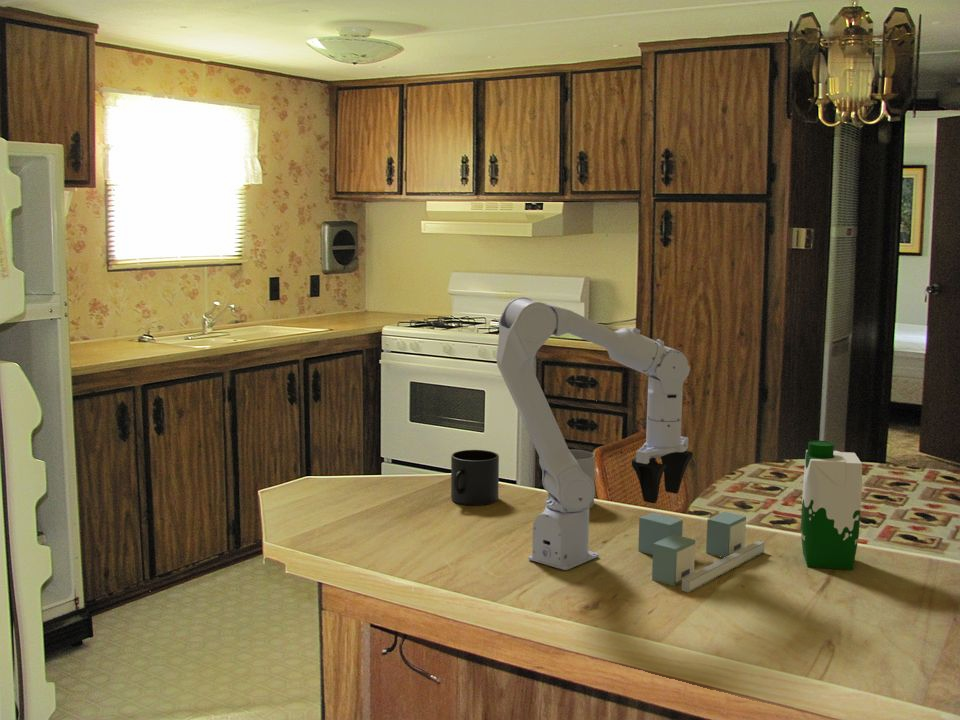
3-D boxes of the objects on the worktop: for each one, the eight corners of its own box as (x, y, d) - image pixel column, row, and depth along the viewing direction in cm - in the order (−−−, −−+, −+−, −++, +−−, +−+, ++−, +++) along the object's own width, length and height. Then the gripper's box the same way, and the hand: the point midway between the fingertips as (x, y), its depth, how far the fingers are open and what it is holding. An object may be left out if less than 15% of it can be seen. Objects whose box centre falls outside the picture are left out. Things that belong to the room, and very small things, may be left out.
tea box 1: (682, 553, 175) (683, 519, 174) (668, 559, 172) (670, 525, 171) (651, 545, 179) (652, 512, 178) (638, 551, 175) (639, 517, 175)
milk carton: (796, 551, 176) (803, 436, 173) (852, 555, 174) (859, 439, 171) (801, 568, 168) (808, 448, 165) (860, 572, 166) (868, 451, 163)
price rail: (689, 592, 157) (689, 581, 156) (681, 590, 158) (681, 579, 157) (764, 552, 175) (765, 542, 175) (757, 550, 176) (757, 540, 176)
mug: (434, 504, 202) (434, 459, 201) (468, 490, 212) (468, 447, 211) (474, 512, 197) (475, 466, 196) (507, 497, 207) (507, 453, 206)
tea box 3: (728, 559, 172) (730, 524, 171) (706, 553, 175) (707, 519, 174) (745, 550, 176) (747, 516, 176) (723, 545, 179) (724, 511, 178)
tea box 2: (675, 586, 159) (676, 549, 158) (651, 580, 162) (653, 543, 161) (695, 576, 164) (696, 540, 163) (672, 570, 167) (673, 534, 166)
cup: (595, 510, 199) (596, 460, 197) (552, 510, 199) (553, 459, 197) (591, 498, 207) (592, 449, 206) (550, 497, 207) (551, 449, 206)
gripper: (664, 428, 164) (661, 511, 166) (705, 414, 176) (702, 492, 178) (625, 422, 169) (623, 502, 171) (668, 409, 180) (665, 485, 182)
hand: (661, 497), depth 174 cm, fingers open, 7 cm apart
